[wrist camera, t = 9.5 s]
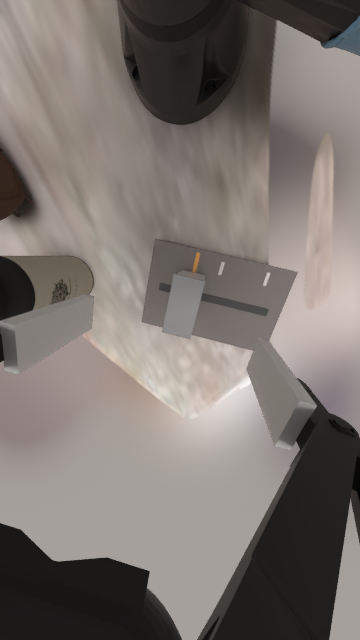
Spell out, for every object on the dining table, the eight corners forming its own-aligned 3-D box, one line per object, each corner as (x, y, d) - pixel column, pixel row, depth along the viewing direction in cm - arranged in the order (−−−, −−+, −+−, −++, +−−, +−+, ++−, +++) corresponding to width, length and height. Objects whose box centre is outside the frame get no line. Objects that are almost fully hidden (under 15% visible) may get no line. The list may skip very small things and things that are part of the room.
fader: (173, 312, 32) (161, 331, 24) (182, 269, 30) (173, 274, 21) (194, 317, 32) (190, 339, 23) (205, 274, 30) (205, 281, 21)
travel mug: (48, 281, 37) (-84, 302, 20) (65, 246, 35) (-70, 237, 18) (82, 306, 38) (-18, 347, 21) (101, 274, 35) (5, 291, 18)
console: (146, 316, 37) (141, 322, 34) (159, 240, 32) (154, 238, 29) (259, 345, 36) (264, 353, 33) (289, 270, 31) (298, 272, 28)
